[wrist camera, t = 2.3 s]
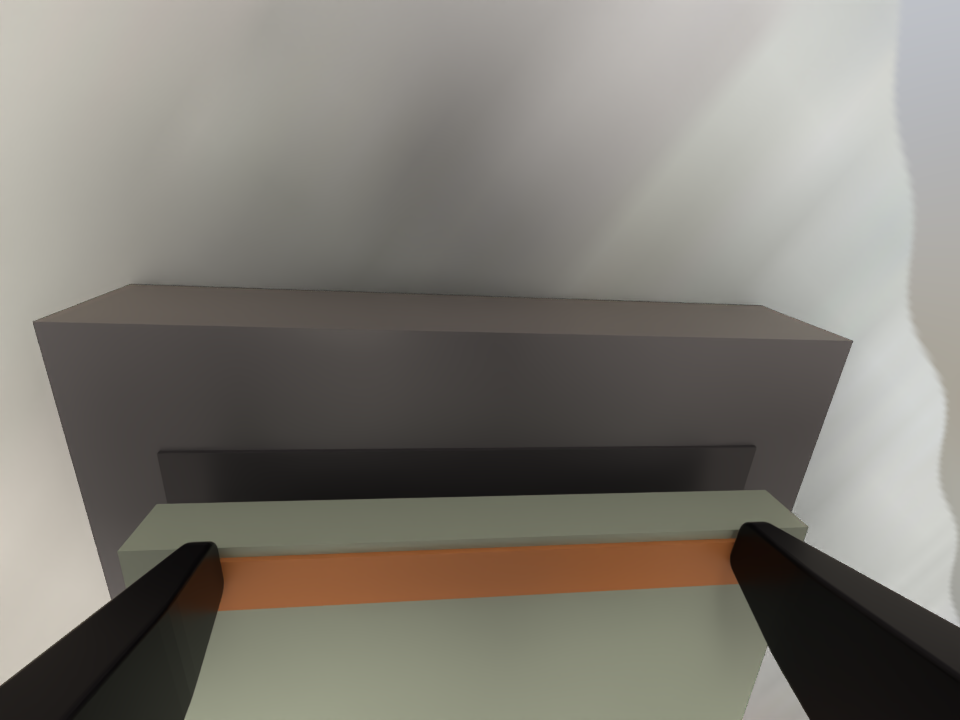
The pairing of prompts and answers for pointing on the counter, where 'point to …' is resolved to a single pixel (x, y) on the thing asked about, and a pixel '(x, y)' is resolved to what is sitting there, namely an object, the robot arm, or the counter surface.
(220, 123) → the counter surface
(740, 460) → the rocker switch panel
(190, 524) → the green rocker
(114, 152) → the counter surface
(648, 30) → the counter surface
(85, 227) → the counter surface
